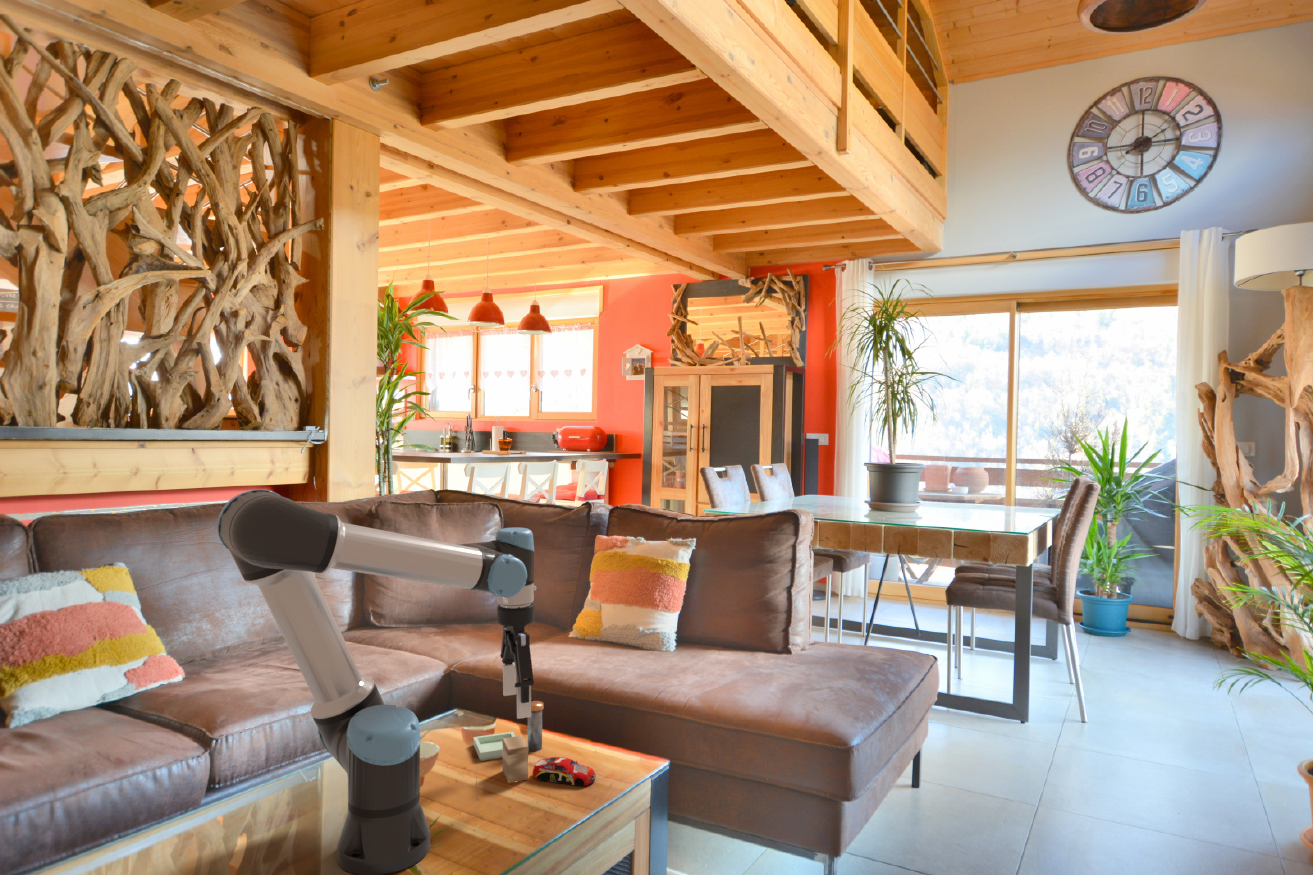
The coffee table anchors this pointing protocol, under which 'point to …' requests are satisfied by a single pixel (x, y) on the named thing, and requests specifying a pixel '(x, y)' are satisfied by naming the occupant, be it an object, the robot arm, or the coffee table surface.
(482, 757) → the tray
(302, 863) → the coffee table surface
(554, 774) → the race car
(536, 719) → the pin
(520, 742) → the brown lidded box
